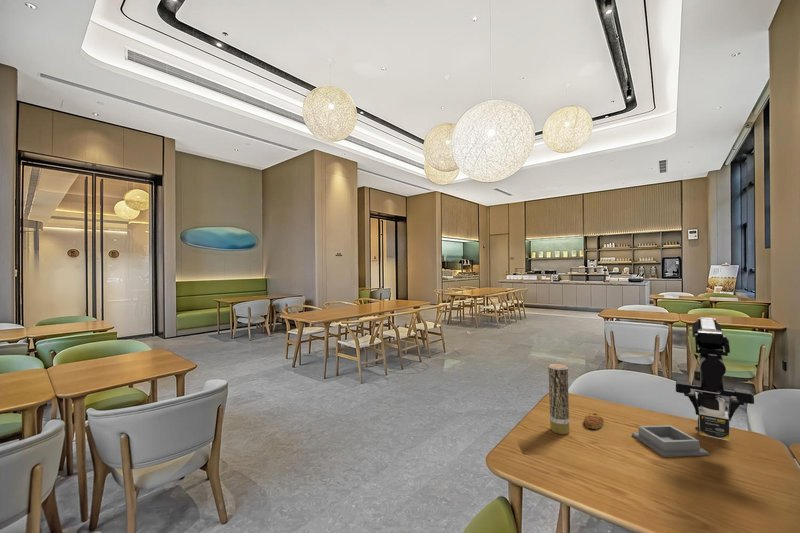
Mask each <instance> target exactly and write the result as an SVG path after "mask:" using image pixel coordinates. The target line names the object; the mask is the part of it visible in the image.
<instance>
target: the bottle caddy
mask: <svg viewBox="0 0 800 533" xmlns="http://www.w3.org/2000/svg"><path fill="white" fill-rule="evenodd" d="M631 436H632V437H633V438H635V439H637V440H638V441H640V442H642V443H643V444H644V445H645V446H648V448H650V449H652V450H653V451H655V452H656V453H657V454H659V455H660V456H662V457H665V458H668V457H669V458H670V457H671V458H672V457H691V456H692V457H697V456H709V452H708V451H707V450H705V449H704V448H702V447H701V446H700V444H701V443H700V440H698V439H697V438H695V437H693V436H691V435H689V434H687V433H686V432H684V431H682V430H680V429H678V428H676V427H675V426H673V425H670V424H669V425H668V424H666V425H664V424H663V425H642V426H641V425H638V432H631Z"/></svg>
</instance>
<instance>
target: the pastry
mask: <svg viewBox="0 0 800 533" xmlns="http://www.w3.org/2000/svg"><path fill="white" fill-rule="evenodd" d="M583 423H584V425H585V427H586V428H589V429H593V430H598V429H601V428H602V426H604V423H605V420H604V419H603V417H602V416H601V415H600V414H599V413H596V412H590V413H588V414H587V415H586V416H585V417H584V419H583Z"/></svg>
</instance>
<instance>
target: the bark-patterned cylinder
mask: <svg viewBox="0 0 800 533" xmlns="http://www.w3.org/2000/svg"><path fill="white" fill-rule="evenodd" d="M568 370H569V368H568V365H566V364H562V363H550V364H548V392H549V394H548V396H549V421H550V423H549V426H550V431H552V432H553V433H555V434H557V433H558V435H567V434H569V433H570V400H569V371H568Z"/></svg>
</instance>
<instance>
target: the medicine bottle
mask: <svg viewBox="0 0 800 533" xmlns="http://www.w3.org/2000/svg"><path fill="white" fill-rule="evenodd" d="M700 399H701V407H699V428H700V430H699V435H701V436H704V437H708V438H709V437H710V438H713V439H714V438H715V439H717V440H718V439H719V440H724V441H731V431H730V428H731V427H730V421H729V417H728V413H727V411H726V407H727V406H726V407H725V405H726V400H725V399H724V398H723V397H721V398H720V397H717V396H713V395H703V396H701V397H700Z"/></svg>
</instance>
